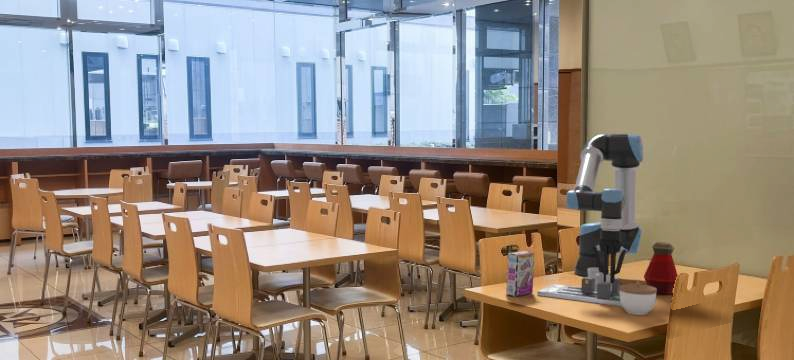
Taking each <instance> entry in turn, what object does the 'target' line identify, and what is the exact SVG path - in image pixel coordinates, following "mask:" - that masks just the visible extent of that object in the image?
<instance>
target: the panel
mask: <svg viewBox="0 0 794 360" xmlns="http://www.w3.org/2000/svg"><path fill="white" fill-rule="evenodd" d="M581 288H582V286H571V285H563V284H555V283H554V284H551V285H548V286H546V287H544V288H542V289H538V290H537V293H536V294H537V295H536V296H539V297H547V298H548V297H549V298H554V299H564V300H571V301H578V302H584V303H594V304H600V305H608V306H616V307H622V305H621V302H620V292H618V293H611V296H610V297H609V298H608V299H607V298H599V297H597V289H595V292H593V293H585V292H581Z"/></svg>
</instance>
